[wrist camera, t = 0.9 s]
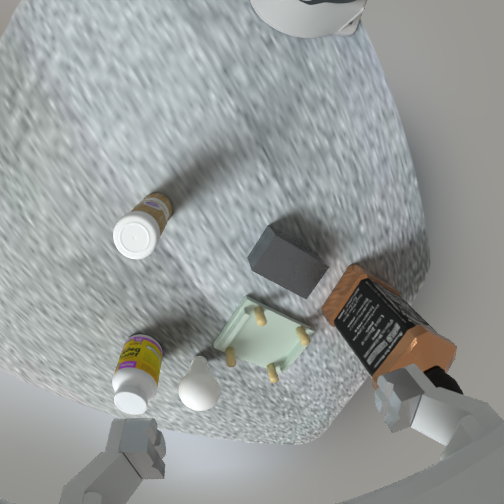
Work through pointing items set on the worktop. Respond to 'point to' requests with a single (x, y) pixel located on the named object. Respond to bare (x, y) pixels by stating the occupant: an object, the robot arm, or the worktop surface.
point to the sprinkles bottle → (142, 226)
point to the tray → (263, 337)
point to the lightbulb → (199, 386)
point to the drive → (286, 262)
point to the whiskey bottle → (387, 329)
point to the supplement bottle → (137, 374)
